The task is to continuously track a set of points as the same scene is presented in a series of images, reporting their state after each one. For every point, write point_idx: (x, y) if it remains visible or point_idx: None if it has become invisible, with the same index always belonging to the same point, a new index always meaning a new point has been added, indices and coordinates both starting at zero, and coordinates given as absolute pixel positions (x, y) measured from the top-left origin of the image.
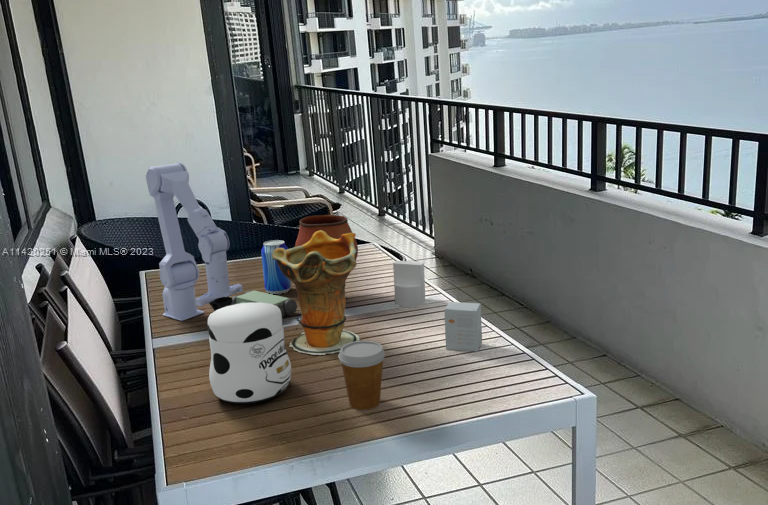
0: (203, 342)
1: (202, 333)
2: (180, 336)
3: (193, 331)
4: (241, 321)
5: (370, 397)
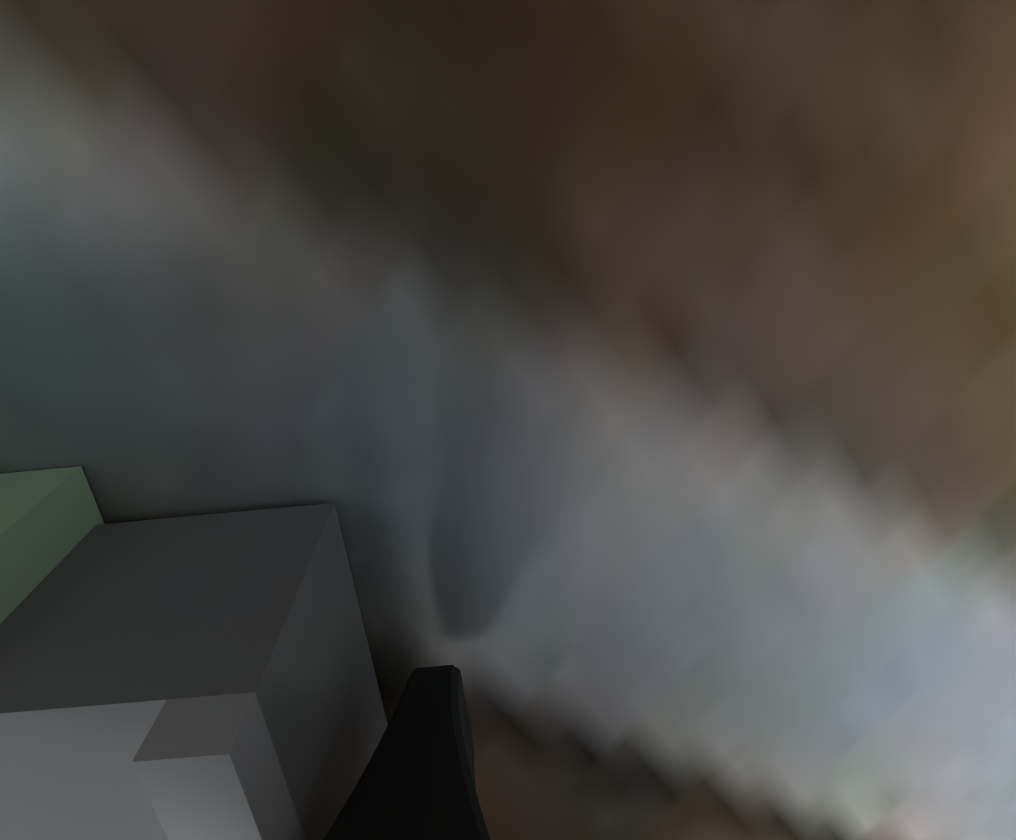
0: (1007, 433)
1: (739, 708)
2: (945, 809)
3: (747, 823)
4: None
5: None
